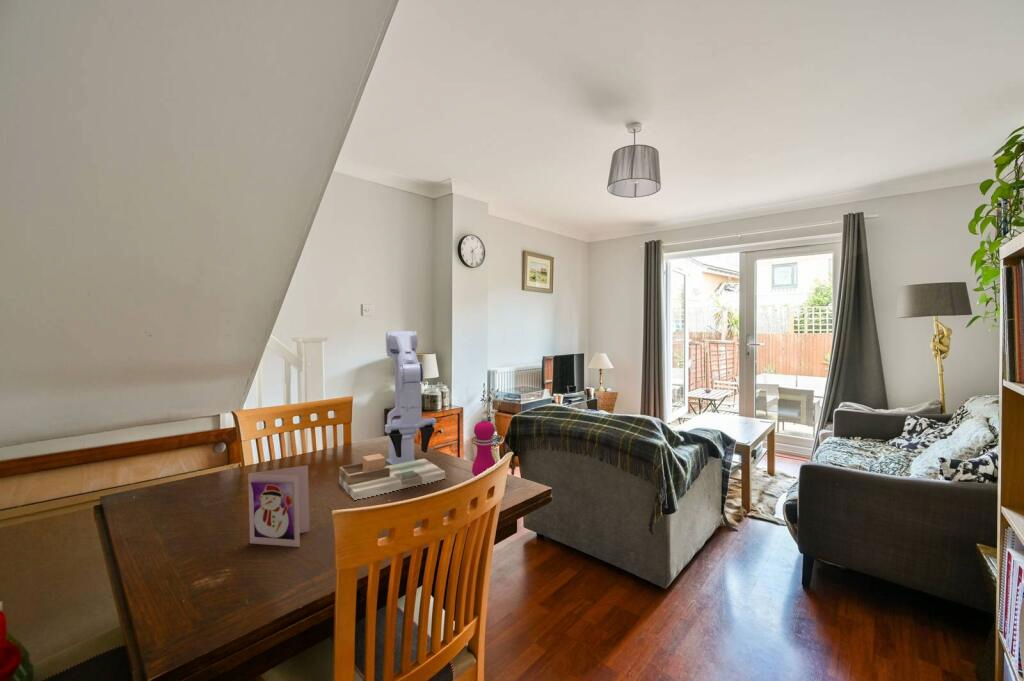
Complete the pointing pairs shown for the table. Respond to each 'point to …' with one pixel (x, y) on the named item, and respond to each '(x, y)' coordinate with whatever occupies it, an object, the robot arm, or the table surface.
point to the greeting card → (279, 506)
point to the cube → (373, 462)
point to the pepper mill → (483, 446)
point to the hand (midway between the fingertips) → (411, 454)
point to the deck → (396, 479)
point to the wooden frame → (361, 474)
